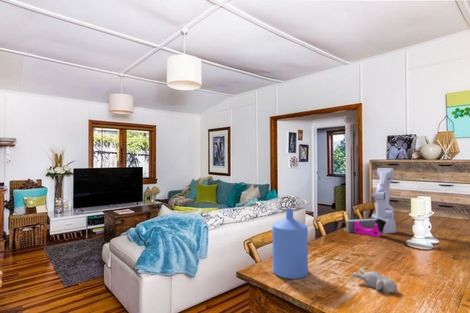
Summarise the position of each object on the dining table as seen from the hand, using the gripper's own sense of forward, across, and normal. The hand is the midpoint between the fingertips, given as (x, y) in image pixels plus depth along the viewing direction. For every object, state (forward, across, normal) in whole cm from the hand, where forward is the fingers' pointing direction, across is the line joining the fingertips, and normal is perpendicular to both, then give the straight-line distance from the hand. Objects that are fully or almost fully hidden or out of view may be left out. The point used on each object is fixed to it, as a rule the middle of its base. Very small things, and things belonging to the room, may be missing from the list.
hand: (380, 231), depth 171 cm
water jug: (+4, +39, -76) cm, 86 cm away
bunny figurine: (+4, +57, -48) cm, 75 cm away
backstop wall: (+4, -18, -2) cm, 19 cm away
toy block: (+4, -9, -3) cm, 10 cm away
